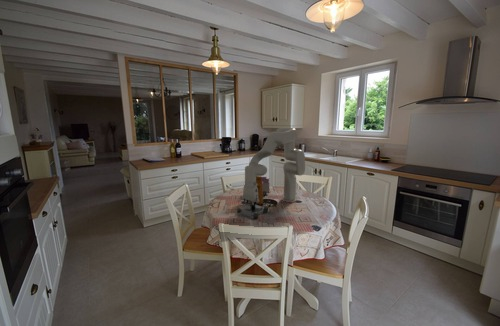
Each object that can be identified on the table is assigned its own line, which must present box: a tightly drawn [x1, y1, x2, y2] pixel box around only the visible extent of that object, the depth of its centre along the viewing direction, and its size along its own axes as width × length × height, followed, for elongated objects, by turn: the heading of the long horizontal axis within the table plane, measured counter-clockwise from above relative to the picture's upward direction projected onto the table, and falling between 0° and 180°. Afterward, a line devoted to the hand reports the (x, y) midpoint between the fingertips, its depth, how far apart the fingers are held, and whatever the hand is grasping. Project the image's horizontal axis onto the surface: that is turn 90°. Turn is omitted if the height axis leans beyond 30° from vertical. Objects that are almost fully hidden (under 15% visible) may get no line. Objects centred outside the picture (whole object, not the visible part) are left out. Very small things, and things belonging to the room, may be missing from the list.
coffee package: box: [248, 176, 264, 206], centre depth 173 cm, size 10×12×22 cm
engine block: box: [244, 201, 252, 212], centre depth 153 cm, size 6×4×5 cm
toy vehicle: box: [261, 176, 270, 196], centre depth 192 cm, size 9×20×15 cm, turn 107°
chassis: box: [236, 204, 269, 220], centre depth 156 cm, size 18×15×4 cm
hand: (250, 209), depth 153 cm, fingers closed on engine block, 4 cm apart
